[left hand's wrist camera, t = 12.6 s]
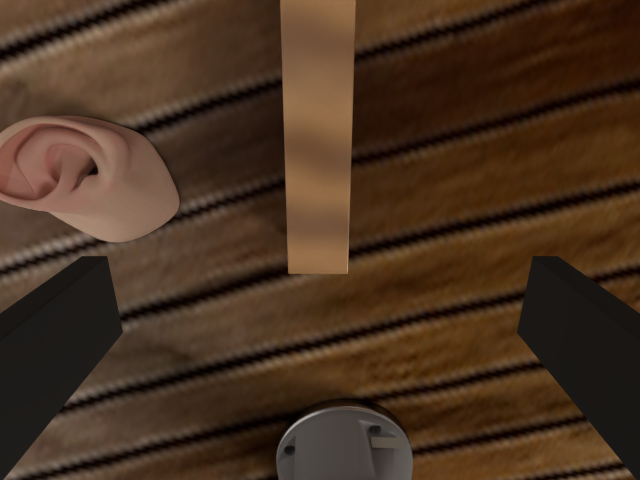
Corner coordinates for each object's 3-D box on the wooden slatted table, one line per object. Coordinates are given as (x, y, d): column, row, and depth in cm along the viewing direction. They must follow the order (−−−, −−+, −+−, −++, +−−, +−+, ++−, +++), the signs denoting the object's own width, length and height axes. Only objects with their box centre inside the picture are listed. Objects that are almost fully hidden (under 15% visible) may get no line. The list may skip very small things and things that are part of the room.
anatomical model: (186, 197, 31) (102, 290, 34) (200, 186, 34) (124, 270, 37) (35, 66, 27) (-44, 181, 30) (69, 69, 31) (-4, 171, 34)
